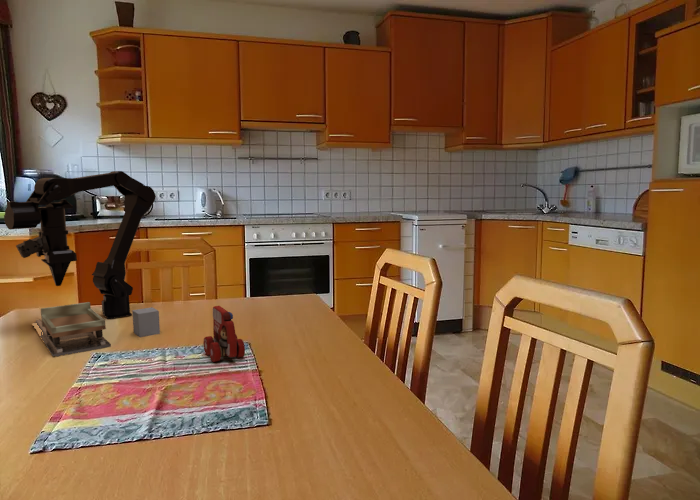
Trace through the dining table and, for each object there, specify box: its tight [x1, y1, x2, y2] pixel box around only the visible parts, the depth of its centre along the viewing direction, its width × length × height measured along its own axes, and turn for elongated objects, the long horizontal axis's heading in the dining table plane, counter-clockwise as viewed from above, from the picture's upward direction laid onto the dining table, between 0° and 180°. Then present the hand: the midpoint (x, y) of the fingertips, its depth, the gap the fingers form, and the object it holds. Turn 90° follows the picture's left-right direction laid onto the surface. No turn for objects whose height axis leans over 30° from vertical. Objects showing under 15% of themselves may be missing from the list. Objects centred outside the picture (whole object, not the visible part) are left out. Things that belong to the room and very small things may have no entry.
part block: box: [131, 306, 161, 338], centre depth 134 cm, size 5×5×6 cm
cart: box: [40, 301, 107, 345], centre depth 127 cm, size 11×16×6 cm
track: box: [35, 319, 112, 357], centre depth 133 cm, size 12×34×1 cm, turn 38°
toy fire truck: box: [203, 305, 246, 363], centre depth 116 cm, size 7×12×10 cm, turn 29°
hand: (58, 285), depth 139 cm, fingers closed
